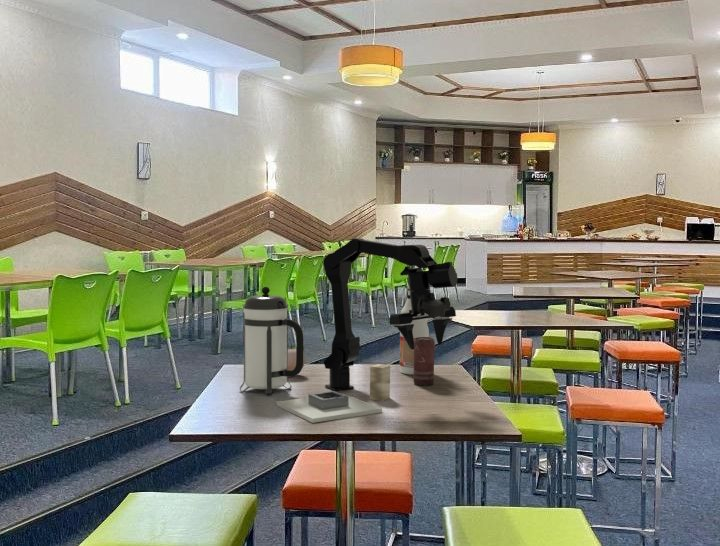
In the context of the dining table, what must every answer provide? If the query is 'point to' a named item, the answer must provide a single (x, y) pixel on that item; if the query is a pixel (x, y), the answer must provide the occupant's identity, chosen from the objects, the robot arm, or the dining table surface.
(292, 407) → the socket board
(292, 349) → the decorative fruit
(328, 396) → the square socket
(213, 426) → the dining table surface
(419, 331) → the fruit juice
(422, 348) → the can
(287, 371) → the coffee press
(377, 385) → the square peg
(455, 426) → the dining table surface
